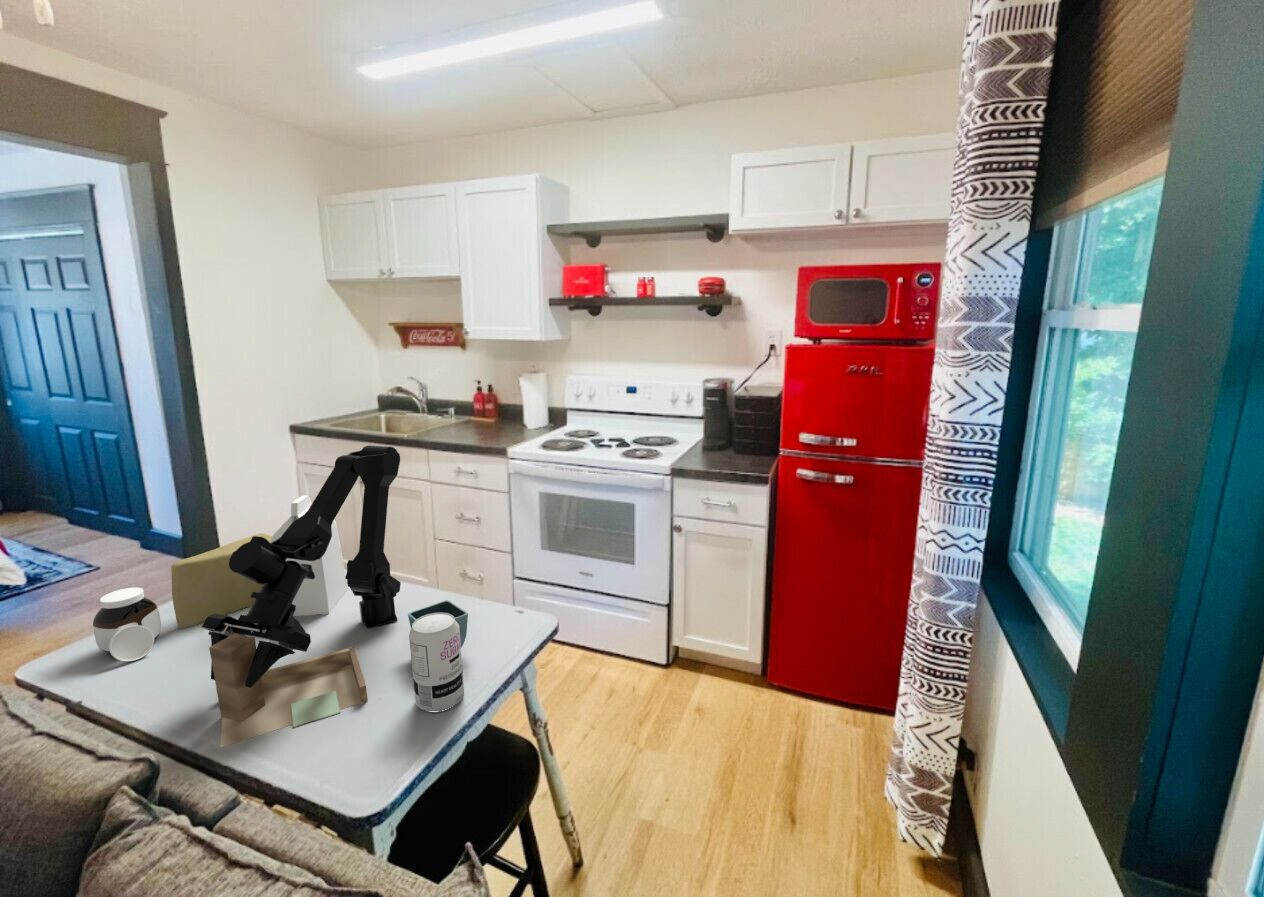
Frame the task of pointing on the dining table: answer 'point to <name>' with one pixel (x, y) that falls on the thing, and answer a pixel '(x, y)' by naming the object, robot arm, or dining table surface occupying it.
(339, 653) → the tray
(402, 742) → the dining table surface
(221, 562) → the cheese
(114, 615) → the spread jar
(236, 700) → the walnut block
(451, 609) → the flower pot
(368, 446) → the robot arm
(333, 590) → the milk
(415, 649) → the supplement can
